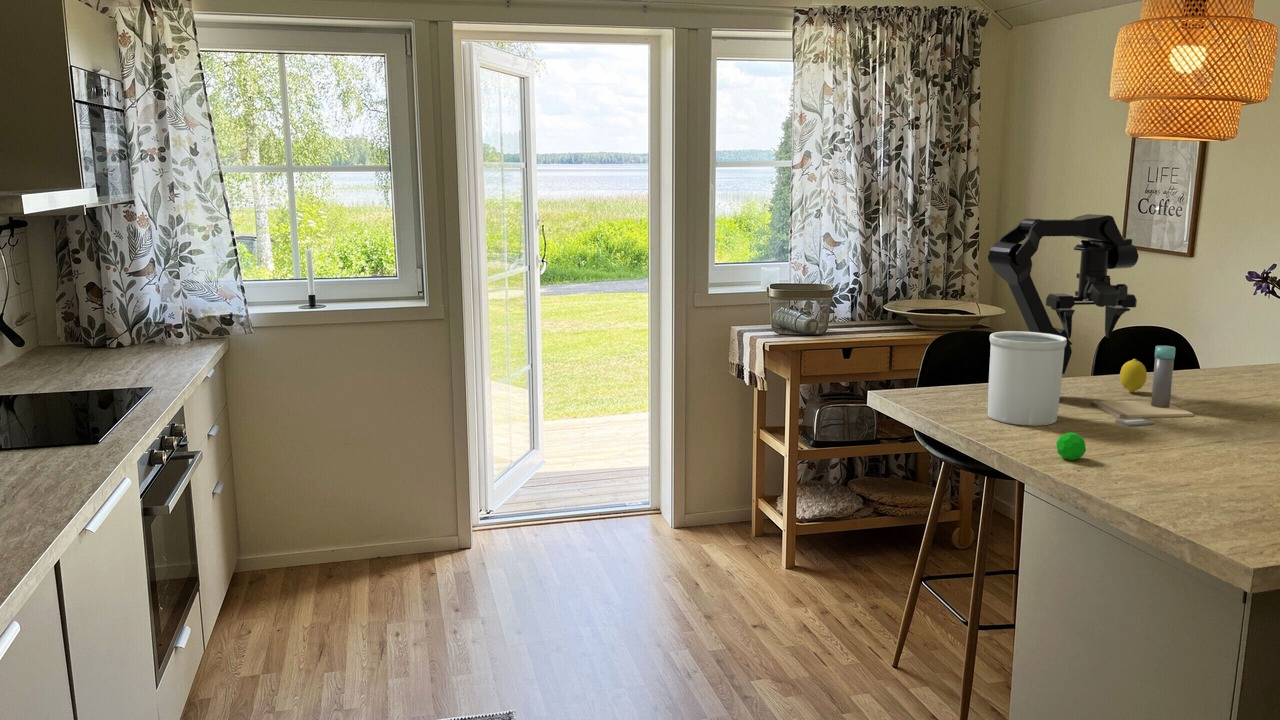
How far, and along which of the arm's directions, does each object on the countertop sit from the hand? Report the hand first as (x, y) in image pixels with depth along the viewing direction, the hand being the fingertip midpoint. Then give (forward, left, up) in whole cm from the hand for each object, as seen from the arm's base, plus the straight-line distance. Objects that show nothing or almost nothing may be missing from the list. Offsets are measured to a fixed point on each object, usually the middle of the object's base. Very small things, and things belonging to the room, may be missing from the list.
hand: (1088, 337), depth 225 cm
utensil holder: (-24, -21, -13) cm, 35 cm away
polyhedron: (-28, -50, -13) cm, 59 cm away
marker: (+9, -16, -12) cm, 22 cm away
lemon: (+11, -1, -13) cm, 17 cm away
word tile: (-3, -27, -13) cm, 30 cm away
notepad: (+4, -17, -13) cm, 22 cm away
